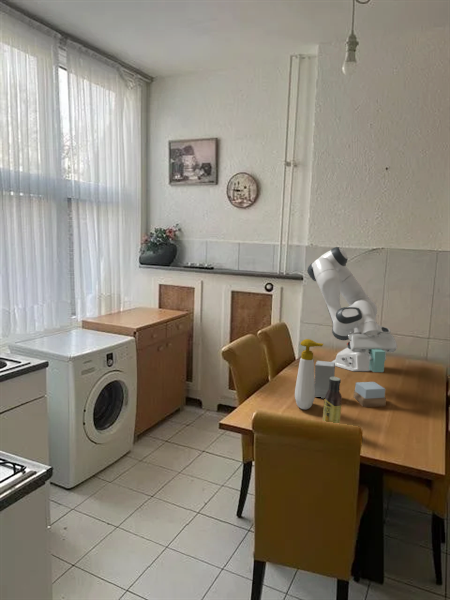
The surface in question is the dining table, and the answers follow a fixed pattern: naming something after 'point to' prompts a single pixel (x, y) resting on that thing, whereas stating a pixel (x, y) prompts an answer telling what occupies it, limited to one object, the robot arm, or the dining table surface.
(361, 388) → the grey block
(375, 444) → the dining table surface
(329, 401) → the sauce bottle
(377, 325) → the robot arm
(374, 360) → the teal block
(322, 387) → the skincare box
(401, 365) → the dining table surface
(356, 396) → the walnut block
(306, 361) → the soap bottle
